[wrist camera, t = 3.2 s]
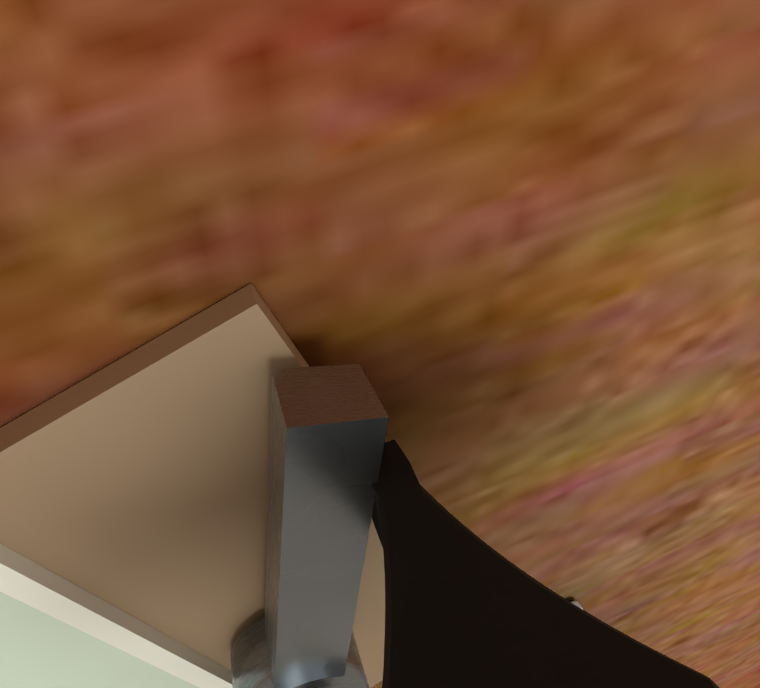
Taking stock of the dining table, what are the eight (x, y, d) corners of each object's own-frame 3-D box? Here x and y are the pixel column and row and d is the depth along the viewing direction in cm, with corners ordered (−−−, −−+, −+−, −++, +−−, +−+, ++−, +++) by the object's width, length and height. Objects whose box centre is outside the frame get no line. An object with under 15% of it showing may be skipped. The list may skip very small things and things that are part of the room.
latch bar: (343, 658, 16) (367, 748, 14) (231, 689, 15) (239, 794, 13) (394, 353, 11) (446, 428, 9) (221, 364, 9) (231, 455, 7)
